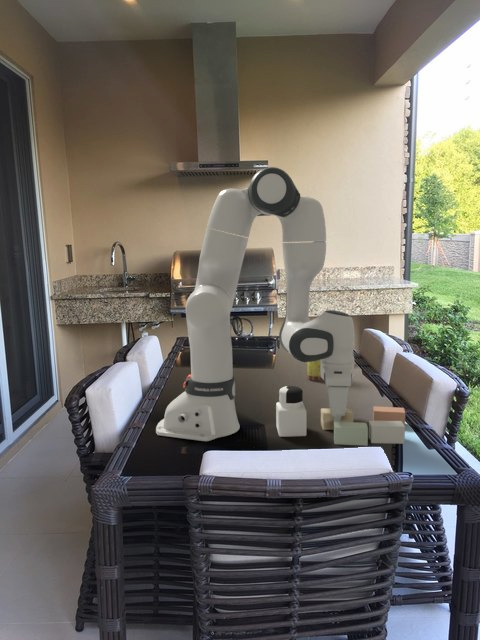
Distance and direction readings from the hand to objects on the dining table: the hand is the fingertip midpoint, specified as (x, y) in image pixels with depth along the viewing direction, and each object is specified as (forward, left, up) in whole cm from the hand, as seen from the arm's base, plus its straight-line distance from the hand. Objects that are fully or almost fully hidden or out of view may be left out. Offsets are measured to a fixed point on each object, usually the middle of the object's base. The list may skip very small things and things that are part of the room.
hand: (336, 420), depth 134 cm
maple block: (0, 0, -2) cm, 2 cm away
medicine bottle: (-12, -5, -2) cm, 13 cm away
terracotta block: (+14, +3, -2) cm, 14 cm away
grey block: (+12, -8, -2) cm, 15 cm away
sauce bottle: (-6, +47, -2) cm, 47 cm away
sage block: (+3, -10, -2) cm, 11 cm away
